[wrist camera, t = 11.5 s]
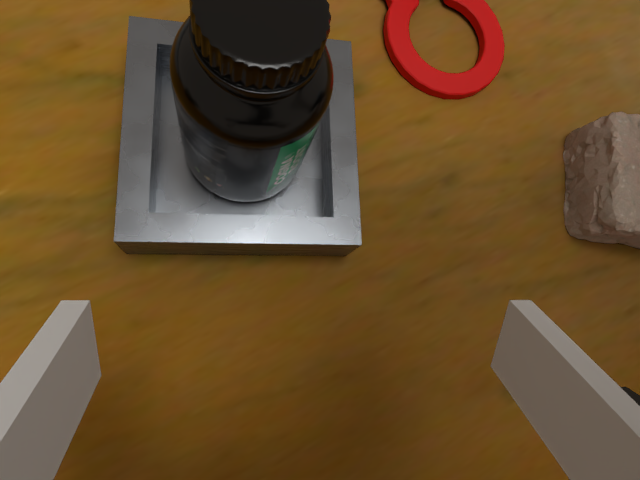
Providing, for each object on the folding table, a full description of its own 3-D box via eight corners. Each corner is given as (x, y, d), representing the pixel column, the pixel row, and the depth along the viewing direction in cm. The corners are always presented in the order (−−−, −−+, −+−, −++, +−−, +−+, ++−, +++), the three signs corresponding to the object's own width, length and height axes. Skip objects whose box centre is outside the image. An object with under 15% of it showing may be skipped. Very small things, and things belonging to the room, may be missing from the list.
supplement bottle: (306, 201, 27) (372, 98, 15) (187, 208, 25) (162, 98, 14) (294, 97, 28) (346, -71, 17) (180, 96, 27) (151, -89, 15)
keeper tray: (337, 71, 30) (351, 41, 27) (345, 255, 27) (361, 244, 24) (139, 52, 27) (129, 16, 24) (126, 253, 25) (113, 241, 22)
